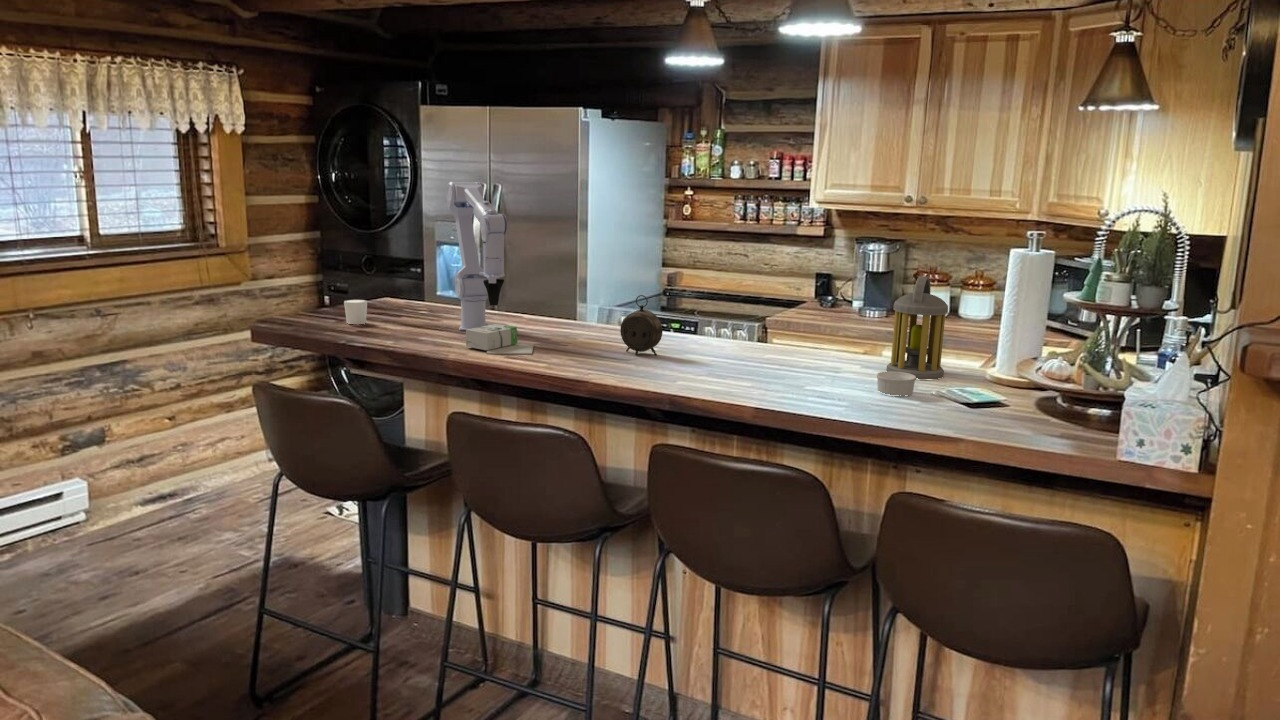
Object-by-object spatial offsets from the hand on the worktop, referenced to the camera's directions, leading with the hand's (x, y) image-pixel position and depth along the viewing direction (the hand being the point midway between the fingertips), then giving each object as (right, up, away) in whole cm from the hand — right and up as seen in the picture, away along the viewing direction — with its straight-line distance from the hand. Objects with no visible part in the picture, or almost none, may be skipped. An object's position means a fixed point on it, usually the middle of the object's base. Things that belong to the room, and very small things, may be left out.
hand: (493, 305), depth 271 cm
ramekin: (+101, -24, -48) cm, 115 cm away
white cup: (-45, -5, +20) cm, 50 cm away
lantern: (+112, -19, -28) cm, 117 cm away
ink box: (+4, -8, -5) cm, 10 cm away
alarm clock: (+42, -14, -13) cm, 46 cm away
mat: (+6, -13, -12) cm, 18 cm away
